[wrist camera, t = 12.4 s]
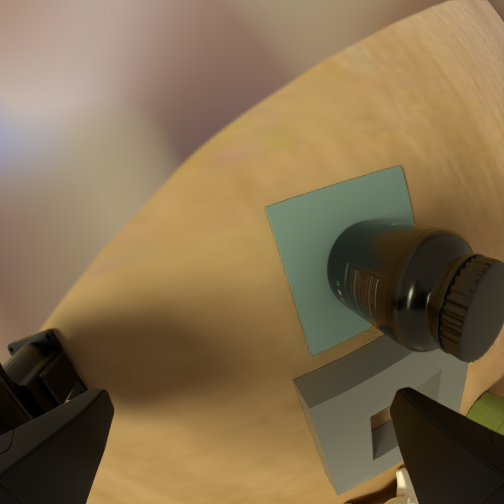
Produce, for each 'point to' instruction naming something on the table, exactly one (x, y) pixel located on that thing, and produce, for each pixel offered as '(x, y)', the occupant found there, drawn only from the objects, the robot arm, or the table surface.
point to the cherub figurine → (403, 489)
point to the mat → (321, 241)
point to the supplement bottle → (419, 286)
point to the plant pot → (489, 412)
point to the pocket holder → (370, 405)
